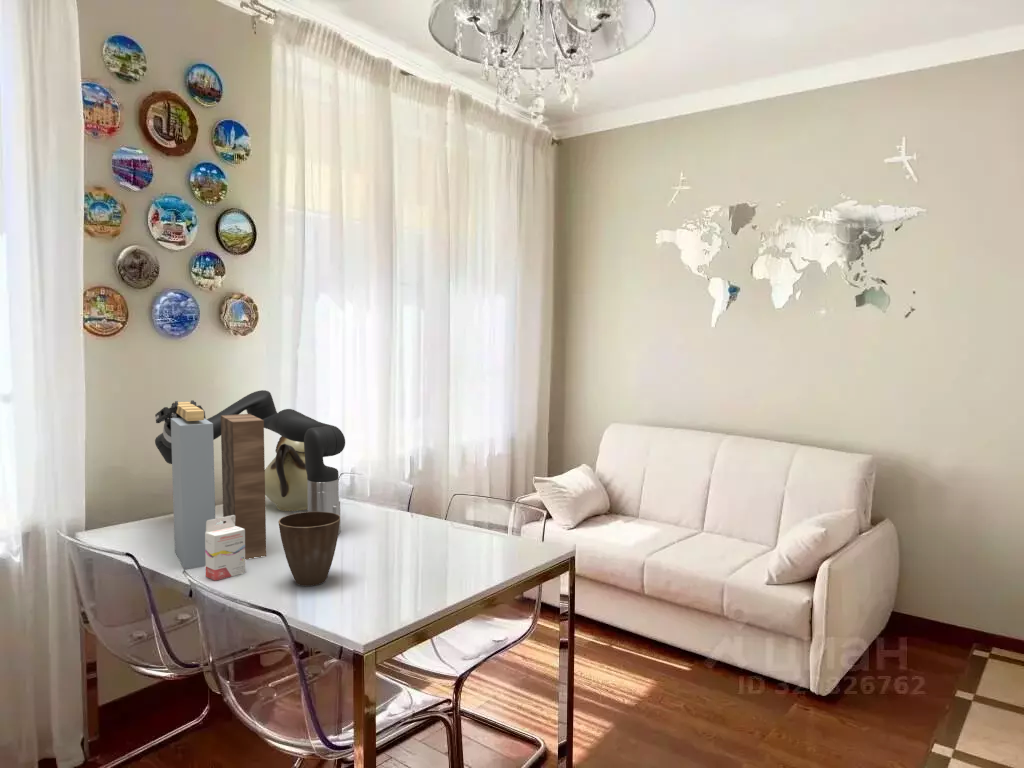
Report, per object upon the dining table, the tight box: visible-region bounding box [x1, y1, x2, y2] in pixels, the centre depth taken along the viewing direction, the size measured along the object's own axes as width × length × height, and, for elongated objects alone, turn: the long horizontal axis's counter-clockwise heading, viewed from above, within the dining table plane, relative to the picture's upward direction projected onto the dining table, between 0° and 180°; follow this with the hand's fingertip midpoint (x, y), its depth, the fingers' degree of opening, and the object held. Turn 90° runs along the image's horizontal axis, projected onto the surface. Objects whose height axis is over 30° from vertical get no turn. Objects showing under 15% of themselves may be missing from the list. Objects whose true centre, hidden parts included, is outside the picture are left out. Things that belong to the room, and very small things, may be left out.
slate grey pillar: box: [171, 418, 216, 570], centre depth 199 cm, size 16×8×38 cm, turn 33°
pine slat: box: [173, 401, 205, 421], centre depth 201 cm, size 24×4×2 cm, turn 33°
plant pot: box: [278, 511, 341, 587], centre depth 183 cm, size 15×15×16 cm
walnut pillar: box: [220, 413, 267, 560], centre depth 206 cm, size 16×8×38 cm, turn 33°
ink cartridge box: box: [205, 515, 246, 582], centre depth 187 cm, size 9×5×15 cm, turn 141°
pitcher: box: [265, 435, 308, 512], centre depth 254 cm, size 22×24×25 cm
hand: (185, 403), depth 205 cm, fingers closed on pine slat, 3 cm apart
